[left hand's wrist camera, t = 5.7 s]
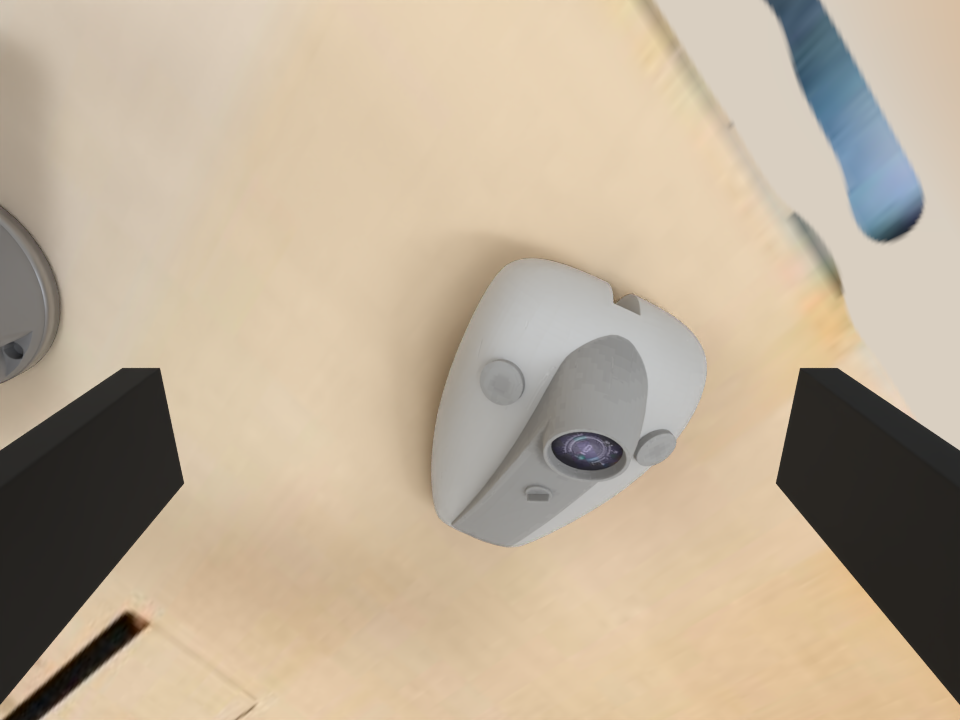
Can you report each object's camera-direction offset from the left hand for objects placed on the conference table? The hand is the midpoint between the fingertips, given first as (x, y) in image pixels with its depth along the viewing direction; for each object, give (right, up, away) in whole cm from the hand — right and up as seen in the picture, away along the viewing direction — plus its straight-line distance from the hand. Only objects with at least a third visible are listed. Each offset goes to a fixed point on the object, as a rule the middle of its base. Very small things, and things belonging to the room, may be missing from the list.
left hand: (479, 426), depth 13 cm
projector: (+5, -2, +35) cm, 35 cm away
